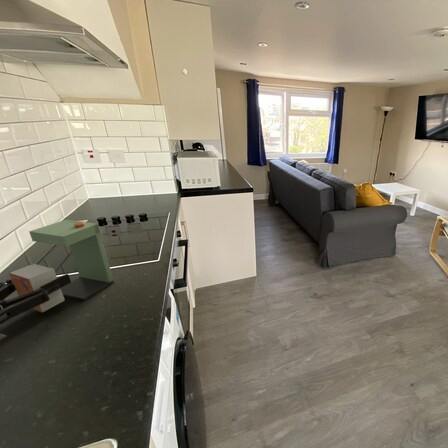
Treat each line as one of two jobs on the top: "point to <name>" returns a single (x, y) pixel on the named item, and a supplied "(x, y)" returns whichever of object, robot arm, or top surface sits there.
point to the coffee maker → (80, 255)
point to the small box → (36, 283)
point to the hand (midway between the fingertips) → (56, 275)
